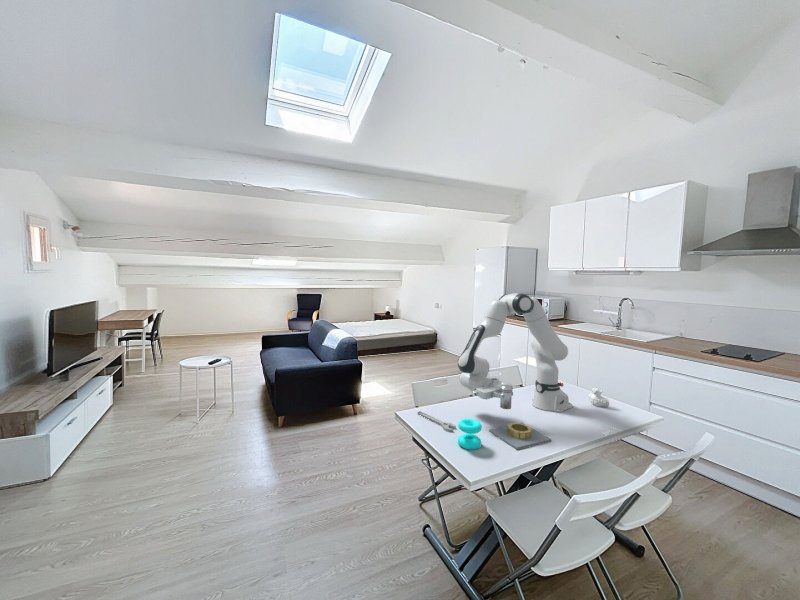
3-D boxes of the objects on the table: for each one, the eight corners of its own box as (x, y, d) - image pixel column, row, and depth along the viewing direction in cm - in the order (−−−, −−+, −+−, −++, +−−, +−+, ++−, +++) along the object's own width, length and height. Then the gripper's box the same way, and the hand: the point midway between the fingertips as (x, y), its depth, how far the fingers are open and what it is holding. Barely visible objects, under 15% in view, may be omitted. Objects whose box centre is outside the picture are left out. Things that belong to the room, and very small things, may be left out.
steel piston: (506, 404, 161) (506, 384, 160) (513, 408, 156) (514, 387, 155) (497, 406, 159) (498, 385, 158) (505, 409, 154) (505, 388, 153)
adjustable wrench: (416, 415, 174) (416, 411, 174) (425, 412, 178) (425, 409, 178) (448, 433, 154) (449, 429, 154) (458, 430, 157) (459, 426, 157)
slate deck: (521, 424, 164) (521, 422, 164) (551, 441, 147) (551, 438, 147) (489, 431, 156) (489, 429, 156) (516, 449, 139) (516, 447, 139)
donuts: (453, 420, 144) (470, 415, 149) (452, 442, 145) (470, 437, 150) (469, 429, 135) (487, 424, 140) (468, 453, 136) (486, 447, 141)
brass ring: (520, 427, 158) (520, 421, 158) (536, 436, 149) (536, 430, 149) (503, 431, 154) (503, 424, 154) (518, 441, 145) (519, 434, 145)
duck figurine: (587, 405, 195) (580, 392, 192) (595, 396, 197) (587, 383, 194) (607, 413, 184) (599, 399, 181) (614, 403, 186) (607, 389, 183)
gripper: (470, 384, 162) (492, 393, 150) (499, 377, 173) (521, 385, 161) (470, 397, 162) (492, 406, 151) (498, 389, 173) (521, 397, 162)
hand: (507, 395), depth 156 cm, fingers closed on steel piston, 5 cm apart
